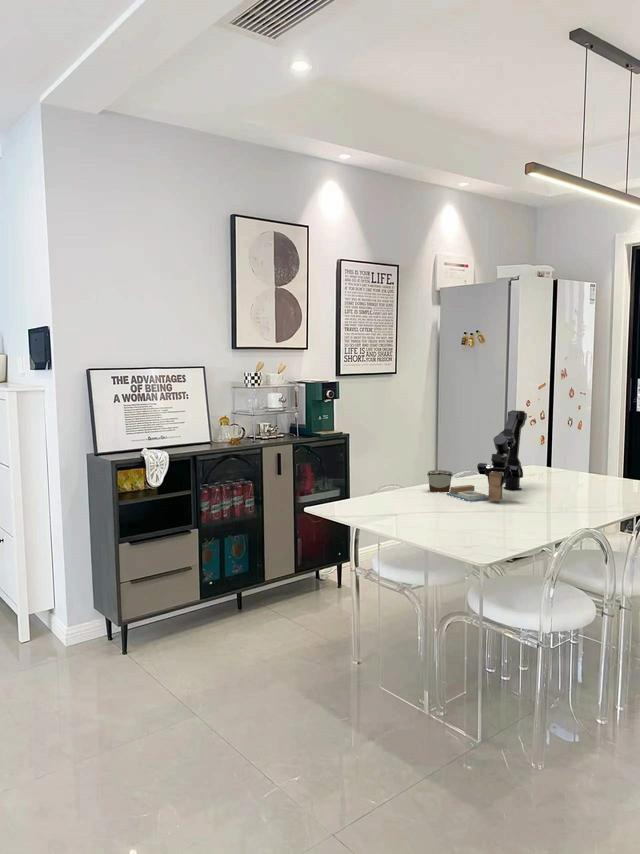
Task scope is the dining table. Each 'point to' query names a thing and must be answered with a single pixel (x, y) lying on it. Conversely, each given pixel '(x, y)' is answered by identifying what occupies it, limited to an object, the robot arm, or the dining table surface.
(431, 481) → the food container
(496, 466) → the robot arm
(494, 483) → the pillar
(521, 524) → the dining table surface
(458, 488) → the blueprint board
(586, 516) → the dining table surface
